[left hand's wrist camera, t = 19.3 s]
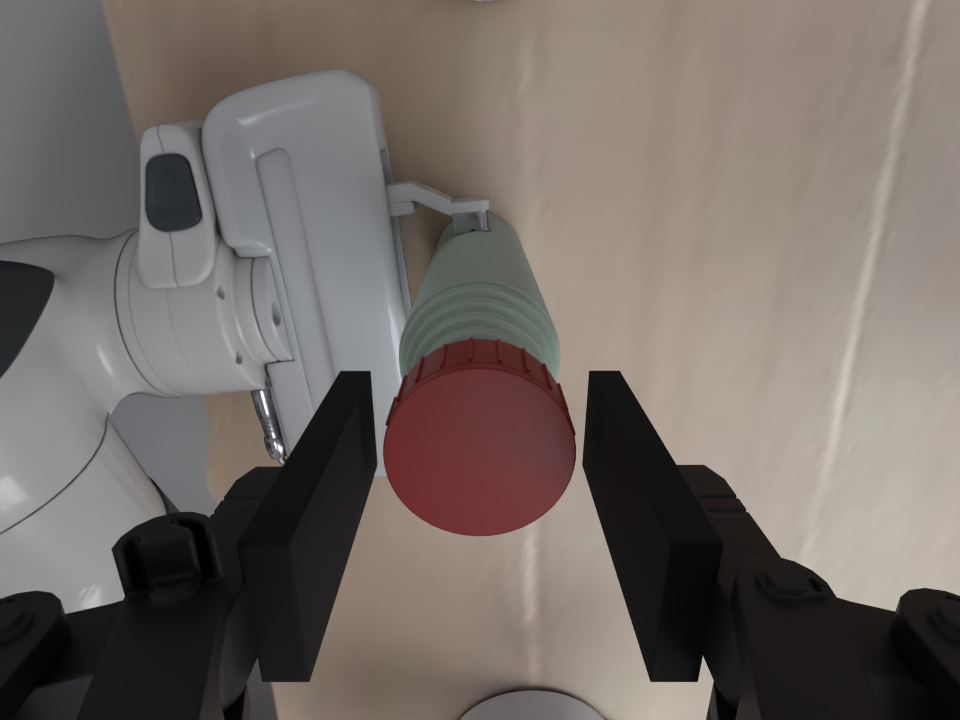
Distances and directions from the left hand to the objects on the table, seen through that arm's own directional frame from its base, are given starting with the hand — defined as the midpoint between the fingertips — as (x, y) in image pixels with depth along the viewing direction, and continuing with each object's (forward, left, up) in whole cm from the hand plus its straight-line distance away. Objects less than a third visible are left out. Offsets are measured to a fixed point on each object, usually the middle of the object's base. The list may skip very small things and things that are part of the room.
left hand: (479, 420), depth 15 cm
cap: (0, 0, +2) cm, 2 cm away
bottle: (0, 0, -22) cm, 22 cm away
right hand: (0, +1, -15) cm, 15 cm away
